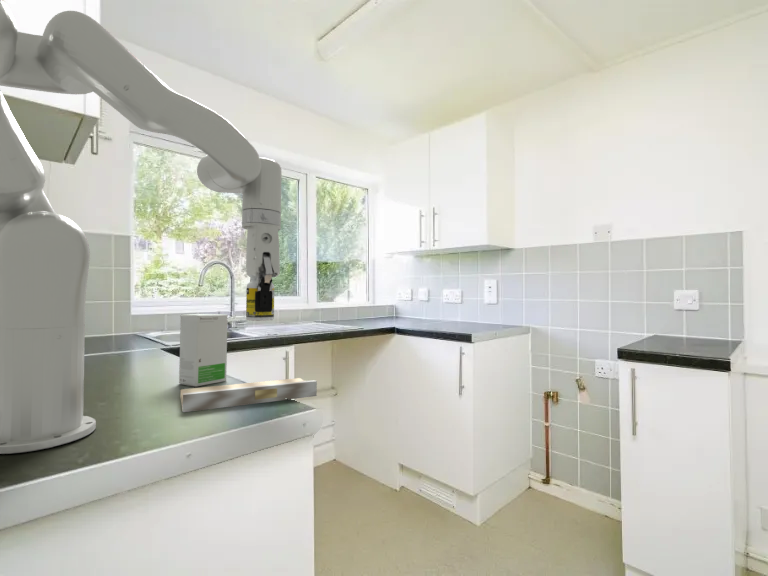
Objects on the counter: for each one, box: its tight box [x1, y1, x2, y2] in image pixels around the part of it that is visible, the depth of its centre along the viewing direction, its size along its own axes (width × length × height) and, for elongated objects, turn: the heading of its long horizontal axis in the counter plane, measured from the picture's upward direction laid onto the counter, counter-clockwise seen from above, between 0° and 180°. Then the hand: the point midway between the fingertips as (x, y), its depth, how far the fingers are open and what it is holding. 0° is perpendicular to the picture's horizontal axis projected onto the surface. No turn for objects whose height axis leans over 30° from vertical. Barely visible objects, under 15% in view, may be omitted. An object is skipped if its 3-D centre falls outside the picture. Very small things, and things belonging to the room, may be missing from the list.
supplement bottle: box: [245, 273, 275, 322], centre depth 80 cm, size 5×5×10 cm
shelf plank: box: [179, 377, 318, 413], centre depth 79 cm, size 24×11×3 cm, turn 119°
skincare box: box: [178, 313, 228, 388], centre depth 91 cm, size 8×7×16 cm
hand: (260, 310), depth 80 cm, fingers closed on supplement bottle, 5 cm apart
